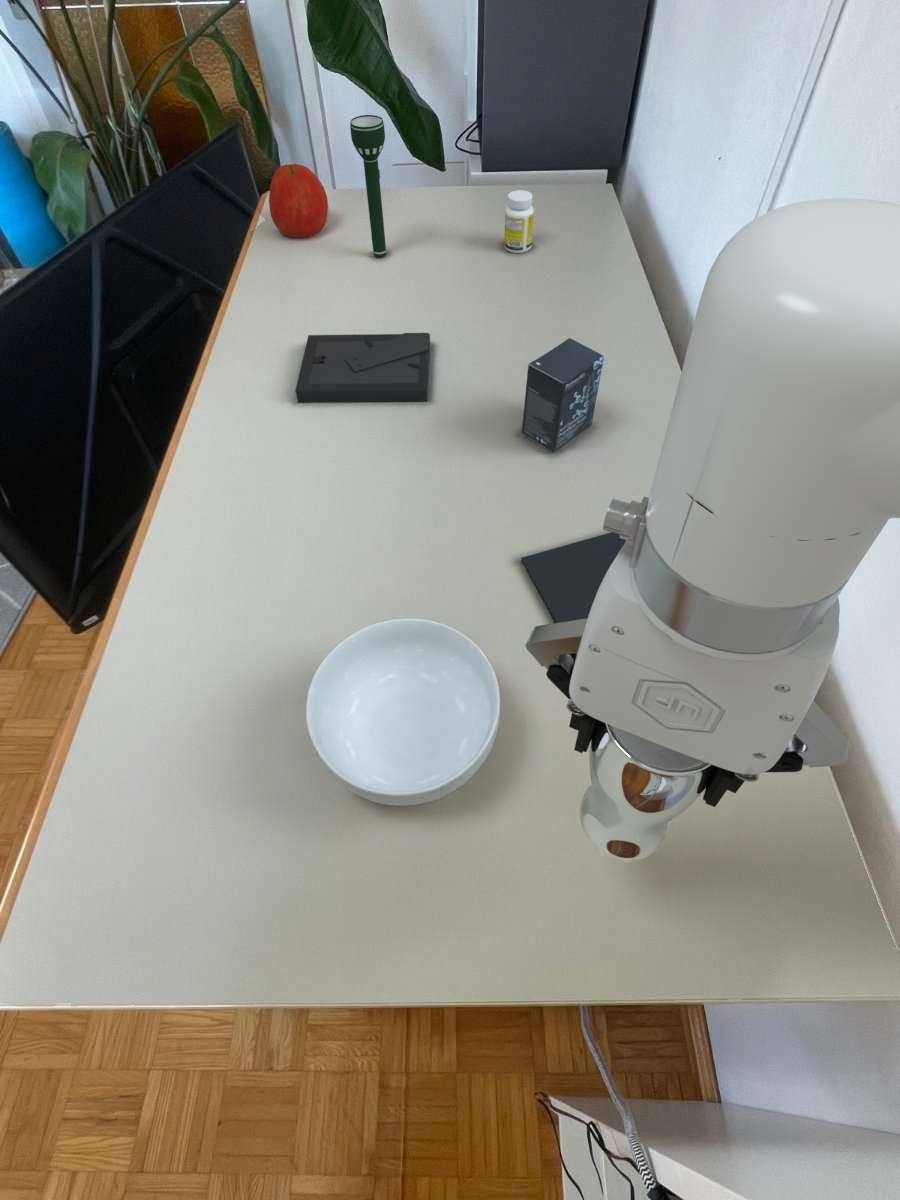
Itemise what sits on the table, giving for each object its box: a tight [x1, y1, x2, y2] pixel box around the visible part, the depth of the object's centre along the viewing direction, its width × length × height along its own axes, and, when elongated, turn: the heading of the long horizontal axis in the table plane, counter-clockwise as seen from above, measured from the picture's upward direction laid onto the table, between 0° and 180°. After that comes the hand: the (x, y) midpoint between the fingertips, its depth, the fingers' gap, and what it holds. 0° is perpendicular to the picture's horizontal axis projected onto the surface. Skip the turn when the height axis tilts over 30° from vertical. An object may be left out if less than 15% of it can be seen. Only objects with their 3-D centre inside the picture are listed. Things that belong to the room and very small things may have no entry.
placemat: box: [521, 532, 627, 655], centre depth 72 cm, size 20×12×1 cm, turn 19°
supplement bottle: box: [503, 189, 535, 254], centre depth 117 cm, size 5×5×8 cm
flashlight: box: [349, 114, 387, 259], centre depth 112 cm, size 5×5×20 cm
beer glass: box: [579, 720, 717, 862], centre depth 43 cm, size 7×7×15 cm
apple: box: [268, 163, 329, 238], centre depth 122 cm, size 10×10×10 cm
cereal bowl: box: [305, 617, 501, 807], centre depth 62 cm, size 17×17×7 cm
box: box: [521, 337, 605, 454], centre depth 86 cm, size 8×6×11 cm
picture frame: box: [295, 332, 431, 403], centre depth 98 cm, size 13×2×18 cm
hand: (649, 755), depth 41 cm, fingers closed on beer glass, 7 cm apart
